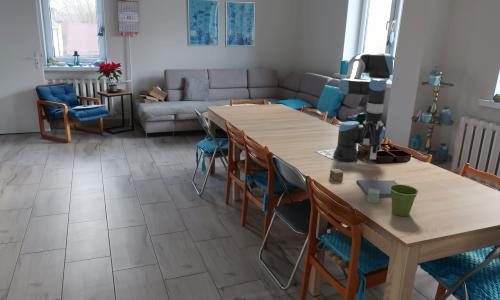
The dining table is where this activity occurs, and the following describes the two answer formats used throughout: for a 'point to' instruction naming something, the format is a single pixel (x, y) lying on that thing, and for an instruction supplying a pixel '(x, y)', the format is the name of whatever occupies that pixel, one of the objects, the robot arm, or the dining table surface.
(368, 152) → the pottery mug
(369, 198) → the sage block
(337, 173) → the walnut block
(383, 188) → the slate mat
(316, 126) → the dining table surface
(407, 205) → the plant pot
